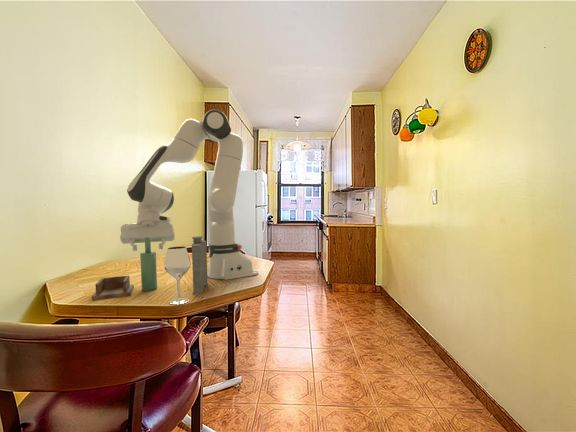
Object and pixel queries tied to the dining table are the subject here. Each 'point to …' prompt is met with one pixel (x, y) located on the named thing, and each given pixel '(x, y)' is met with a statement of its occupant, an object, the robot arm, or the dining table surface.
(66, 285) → the dining table surface
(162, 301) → the dining table surface
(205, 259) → the hip flask
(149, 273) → the bottle
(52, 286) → the dining table surface
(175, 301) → the wineglass
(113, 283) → the u rest
